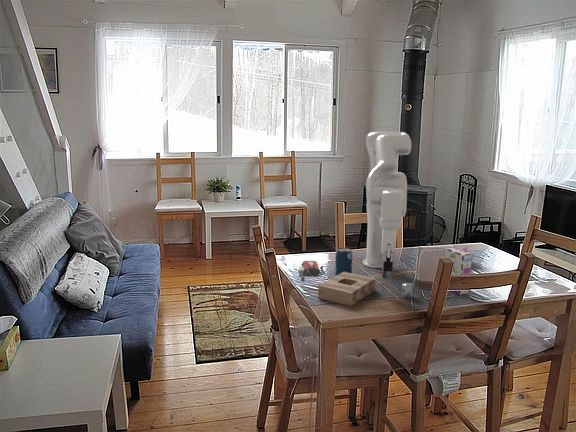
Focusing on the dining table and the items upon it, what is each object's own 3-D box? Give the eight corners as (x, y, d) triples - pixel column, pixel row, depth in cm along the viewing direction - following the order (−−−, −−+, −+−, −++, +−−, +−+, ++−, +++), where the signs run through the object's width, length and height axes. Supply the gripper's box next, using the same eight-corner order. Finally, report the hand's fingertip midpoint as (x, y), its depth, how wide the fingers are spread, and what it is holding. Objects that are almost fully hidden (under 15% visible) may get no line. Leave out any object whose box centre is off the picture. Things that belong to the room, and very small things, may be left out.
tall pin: (384, 274, 206) (386, 247, 203) (394, 276, 204) (396, 249, 201) (380, 277, 203) (381, 250, 200) (390, 279, 201) (391, 251, 198)
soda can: (354, 277, 224) (355, 250, 221) (341, 280, 220) (342, 252, 217) (345, 273, 229) (345, 246, 227) (331, 275, 226) (332, 248, 223)
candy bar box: (470, 294, 206) (473, 253, 202) (459, 295, 204) (463, 255, 200) (451, 284, 216) (454, 246, 212) (441, 286, 214) (444, 247, 211)
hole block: (343, 283, 217) (344, 271, 216) (374, 290, 209) (375, 278, 208) (318, 297, 201) (318, 285, 200) (350, 306, 193) (351, 293, 192)
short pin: (403, 294, 205) (404, 281, 204) (413, 296, 203) (414, 284, 202) (399, 297, 202) (400, 284, 201) (409, 299, 200) (410, 287, 199)
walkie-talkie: (297, 266, 239) (299, 281, 219) (297, 257, 238) (300, 271, 218) (316, 266, 239) (321, 281, 220) (317, 257, 238) (321, 271, 219)
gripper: (381, 217, 207) (378, 261, 211) (379, 228, 191) (376, 275, 195) (400, 218, 205) (397, 262, 210) (400, 229, 189) (397, 277, 194)
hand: (387, 268), depth 202 cm, fingers closed on tall pin, 4 cm apart
